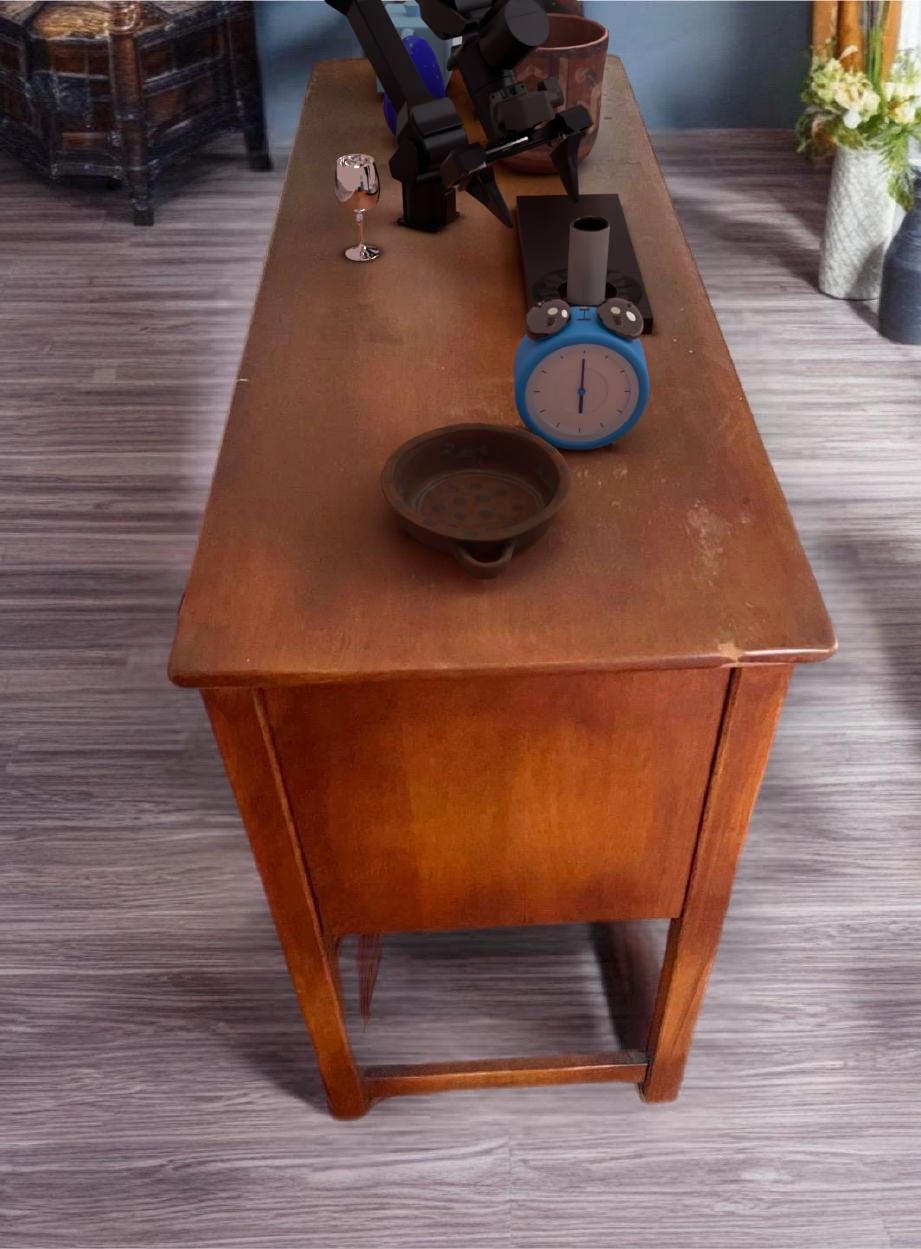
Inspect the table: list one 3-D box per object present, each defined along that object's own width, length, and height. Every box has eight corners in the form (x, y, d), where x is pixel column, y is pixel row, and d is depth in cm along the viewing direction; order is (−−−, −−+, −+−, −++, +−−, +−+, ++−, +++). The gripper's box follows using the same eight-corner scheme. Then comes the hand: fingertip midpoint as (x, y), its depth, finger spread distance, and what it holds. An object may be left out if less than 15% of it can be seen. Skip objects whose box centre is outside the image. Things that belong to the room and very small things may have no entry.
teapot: (442, 110, 195) (439, 19, 186) (375, 108, 196) (369, 17, 187) (458, 67, 211) (456, -19, 202) (396, 66, 212) (391, -19, 203)
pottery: (573, 132, 186) (579, 7, 174) (619, 172, 174) (629, 40, 162) (466, 146, 182) (465, 19, 170) (506, 189, 170) (507, 55, 158)
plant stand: (515, 210, 165) (516, 195, 163) (616, 207, 165) (617, 193, 163) (531, 336, 138) (531, 320, 136) (652, 333, 138) (653, 318, 136)
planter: (609, 312, 142) (615, 228, 135) (573, 317, 141) (577, 233, 134) (596, 295, 145) (602, 213, 138) (561, 300, 144) (564, 217, 137)
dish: (384, 598, 103) (380, 553, 100) (382, 456, 120) (379, 413, 116) (583, 588, 104) (586, 543, 101) (555, 448, 120) (556, 405, 117)
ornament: (399, 124, 190) (394, 23, 180) (454, 129, 188) (452, 27, 178) (377, 149, 182) (370, 45, 172) (434, 154, 180) (431, 49, 170)
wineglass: (392, 248, 156) (386, 156, 148) (371, 266, 152) (364, 172, 144) (353, 241, 158) (346, 149, 150) (332, 258, 154) (323, 165, 146)
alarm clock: (513, 454, 120) (515, 317, 110) (512, 421, 124) (514, 287, 114) (644, 453, 119) (658, 316, 109) (638, 420, 124) (651, 286, 114)
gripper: (443, 84, 130) (499, 219, 132) (586, 35, 135) (638, 166, 137) (416, 123, 141) (469, 248, 143) (550, 76, 146) (598, 198, 148)
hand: (544, 215), depth 142 cm, fingers open, 9 cm apart
